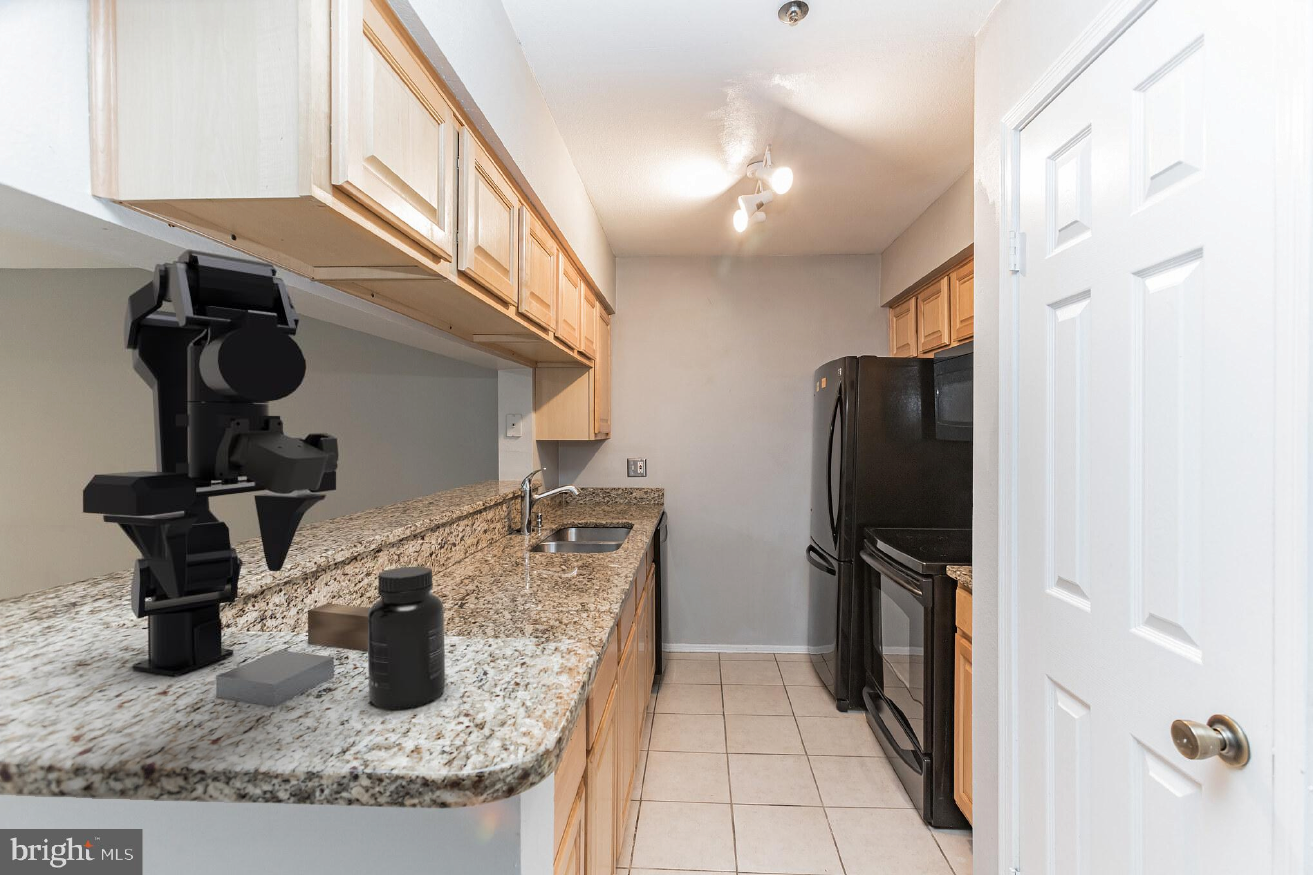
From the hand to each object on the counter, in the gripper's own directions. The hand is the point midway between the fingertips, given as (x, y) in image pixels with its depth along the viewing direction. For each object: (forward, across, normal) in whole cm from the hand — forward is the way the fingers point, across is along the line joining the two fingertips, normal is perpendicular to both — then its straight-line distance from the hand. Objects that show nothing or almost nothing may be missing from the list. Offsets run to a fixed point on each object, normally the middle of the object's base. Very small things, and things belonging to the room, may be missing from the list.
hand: (229, 583), depth 52 cm
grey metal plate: (+13, +7, +2) cm, 15 cm away
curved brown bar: (+12, +19, +2) cm, 23 cm away
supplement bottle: (+12, +8, -12) cm, 19 cm away
